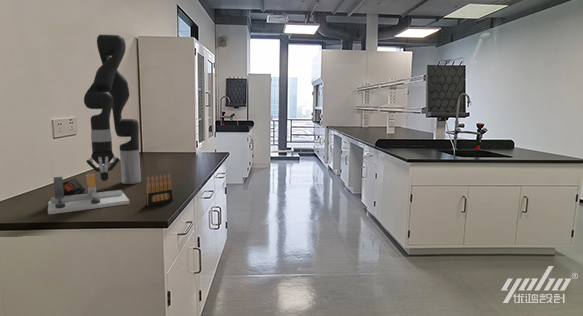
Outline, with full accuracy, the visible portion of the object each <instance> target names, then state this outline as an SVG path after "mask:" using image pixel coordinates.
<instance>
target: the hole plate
mask: <svg viewBox="0 0 583 316" xmlns="http://www.w3.org/2000/svg"><path fill="white" fill-rule="evenodd" d="M47 205H48V206H47V215H55V214H62V213H69V212H70V213H71V212H78V211H86V210H92V209H100V208H101V209H102V208H108V207H116V206H123V205H130V199H129V198H128V197H127V195H126V194H125V193H124V192H122V195H120V196H112V197H103V198H95V199H86V200H78V201H69V202H62V203H52V204H51V200H49V201H48V204H47Z"/></svg>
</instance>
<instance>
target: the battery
mask: <svg viewBox="0 0 583 316" xmlns="http://www.w3.org/2000/svg"><path fill="white" fill-rule="evenodd" d="M63 190H64V196H70V195H79V194H84V192H86V188H85V187H84V186H83V185H82V183H80V181H78V180H77V179H76V178H71V179H69V180H65V181H63Z"/></svg>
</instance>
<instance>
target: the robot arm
mask: <svg viewBox="0 0 583 316" xmlns="http://www.w3.org/2000/svg"><path fill="white" fill-rule="evenodd" d="M96 46H97V51H98V54H99V57H100V60H101V64H102V65H101V66H99V67H98V68H97V70H96V72H95V76H94V80H93V82H92V84H91V85H90V87H89V88H88V89H87V90H86V92H85V93H84V97H83V103H84V106H85V107H86V108H87V109H89V110H90V109H91V110H101V112H100V113H99V114H95V115H91V116H90V129H91V132H90V137H91V138H90V139H91V149H92V151H91V152H92V153H91V157H90V158H88V159H87V160H86V163H87V165H89V166H90V167H91V168H92V169H93V170H94V171H95V172H98V173H99V174H100V175H99V176H100V180H101V181H102V182H106V181H108V180H109V172H110V171H112V170H113V169H114V168H115V166H117V165H118V163H119V162H120V174H121V175H120V176H121V184H123V185H124V184H125V185H133V184H139V183H141V182H142V179H141V178H142V176H141V163H140V162H141V161H140V160H141V158H140V157H141V156H140V146H139V145H140V135H139V133H140V132H139V127H140V126H139V122H138V119H136V118H123V117H122V112H123V110H124V107H125V106H126V104H127V103H128V102H129V101H128V100H129V98H130V88H129V84H128V81H127V79H126V77H124V75H123V74H122V73H121V72H120V71H119V70H118V68H119V66H120V65H121V63H122V60H123V59H124V56H125V53H126V50H127V49H126V48H127V45H126V41H125V38H124V37H123V36H122V35H118V34H98V36H97V38H96ZM111 113H112V118H113V125H114V131H115V133H116V136H118V137H120V138H130V139H129V140H128V141H127V142H125V143H121V144H120V145H119V158H118V157H116V156H115V154H114V153H113V144H112V143H113V142H112V139H113V137H112V132H111V123H110V119H111ZM111 161H112V163H111ZM94 162H95V163H96V164H97V165H98V167H97V166H96V165H95V164H94ZM110 163H111V164H110ZM109 164H110V166H109Z"/></svg>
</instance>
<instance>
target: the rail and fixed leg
mask: <svg viewBox="0 0 583 316" xmlns="http://www.w3.org/2000/svg"><path fill="white" fill-rule="evenodd" d="M63 179H64V178H63V176H53V185H54V186H53V188H54V197H50V201H51V204H52V203H62V202H69V201H78V200H86V199H92V194H88V193H81V194H79V195H70V196H64V190H63V182H64V180H63ZM122 193H123V190H122V189H117V190H108V191H107V190H106V191H100V192H97V191H96V193H95V198H103V197H112V196H120V195H122Z"/></svg>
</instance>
